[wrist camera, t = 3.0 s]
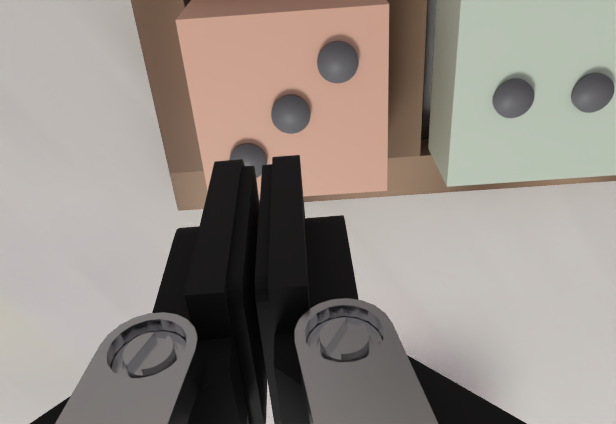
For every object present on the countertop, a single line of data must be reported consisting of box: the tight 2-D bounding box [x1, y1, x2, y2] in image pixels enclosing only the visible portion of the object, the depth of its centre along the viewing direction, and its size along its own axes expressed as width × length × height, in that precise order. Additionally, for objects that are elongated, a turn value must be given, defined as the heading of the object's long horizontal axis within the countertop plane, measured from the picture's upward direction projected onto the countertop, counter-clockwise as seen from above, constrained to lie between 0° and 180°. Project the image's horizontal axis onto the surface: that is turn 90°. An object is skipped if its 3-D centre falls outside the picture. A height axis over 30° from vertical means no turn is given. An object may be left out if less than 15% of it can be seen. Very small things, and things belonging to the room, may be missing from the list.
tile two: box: [428, 0, 616, 187], centre depth 18 cm, size 6×6×3 cm
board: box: [131, 0, 616, 211], centre depth 20 cm, size 26×10×2 cm, turn 94°
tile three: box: [175, 0, 389, 200], centre depth 18 cm, size 6×6×3 cm
